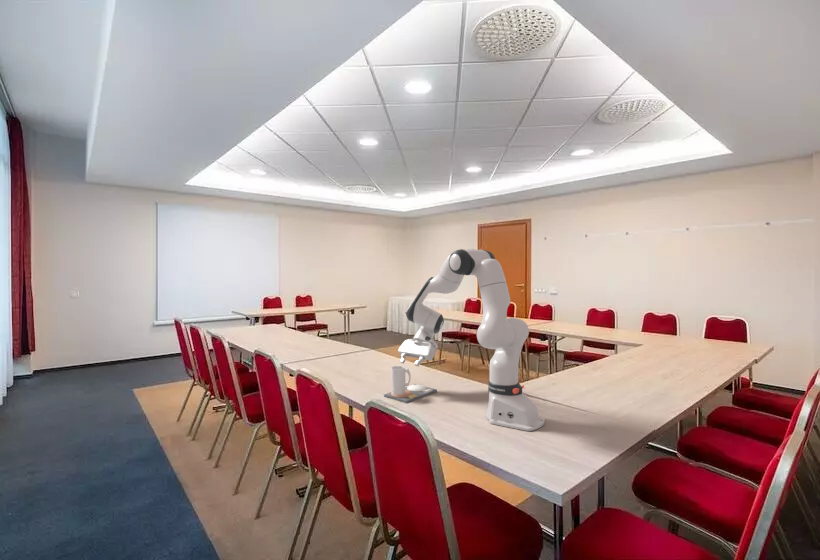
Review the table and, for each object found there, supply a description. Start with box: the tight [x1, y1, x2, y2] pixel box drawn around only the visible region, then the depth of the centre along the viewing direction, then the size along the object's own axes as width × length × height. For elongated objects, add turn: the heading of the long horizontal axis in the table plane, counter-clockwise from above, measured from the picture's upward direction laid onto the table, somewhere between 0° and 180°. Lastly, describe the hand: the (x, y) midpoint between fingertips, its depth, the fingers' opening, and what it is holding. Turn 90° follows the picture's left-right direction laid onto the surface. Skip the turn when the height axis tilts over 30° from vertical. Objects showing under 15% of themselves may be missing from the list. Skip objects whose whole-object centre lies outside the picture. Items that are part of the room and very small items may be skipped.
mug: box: [390, 365, 412, 395], centre depth 184 cm, size 10×7×12 cm, turn 121°
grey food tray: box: [383, 383, 438, 404], centre depth 187 cm, size 14×22×2 cm, turn 138°
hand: (408, 364), depth 187 cm, fingers open, 8 cm apart
